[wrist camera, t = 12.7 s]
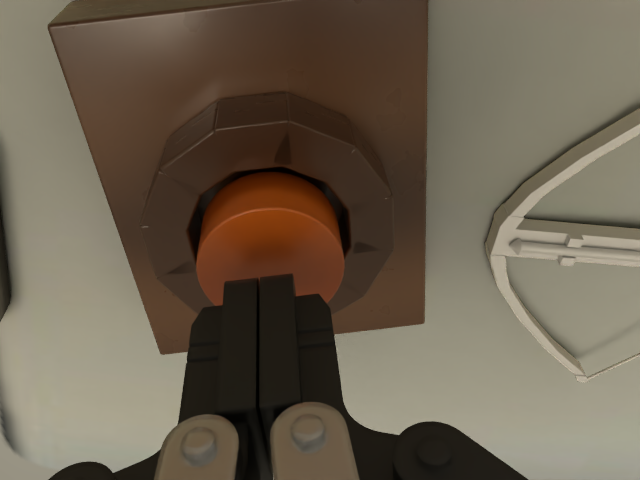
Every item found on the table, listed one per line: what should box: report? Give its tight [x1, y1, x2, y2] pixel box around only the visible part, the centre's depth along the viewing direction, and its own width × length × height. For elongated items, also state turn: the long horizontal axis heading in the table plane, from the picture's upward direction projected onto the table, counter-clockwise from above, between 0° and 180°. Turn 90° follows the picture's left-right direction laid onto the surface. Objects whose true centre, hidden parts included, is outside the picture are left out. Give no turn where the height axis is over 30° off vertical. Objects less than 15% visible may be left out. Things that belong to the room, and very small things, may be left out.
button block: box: [48, 0, 428, 355], centre depth 18 cm, size 11×9×4 cm
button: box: [196, 172, 345, 306], centre depth 16 cm, size 4×4×2 cm
